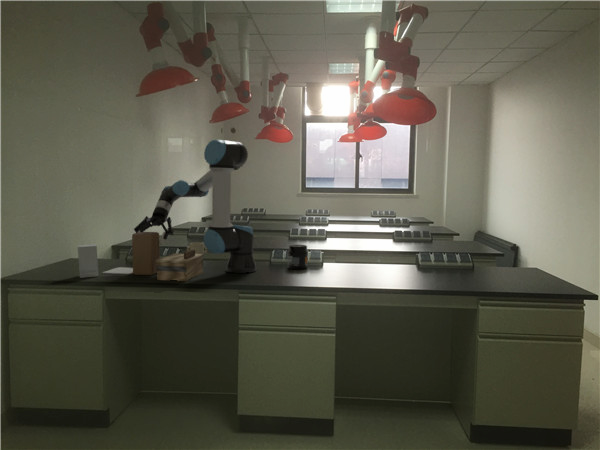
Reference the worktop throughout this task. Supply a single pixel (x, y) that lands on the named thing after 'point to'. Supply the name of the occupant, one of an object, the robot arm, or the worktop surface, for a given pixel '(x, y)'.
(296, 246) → the supplement container
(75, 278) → the worktop surface
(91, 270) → the skincare box
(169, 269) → the toolbox
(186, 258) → the lid
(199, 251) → the character mug
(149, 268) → the wooden block
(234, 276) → the worktop surface
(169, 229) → the robot arm
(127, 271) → the mat
